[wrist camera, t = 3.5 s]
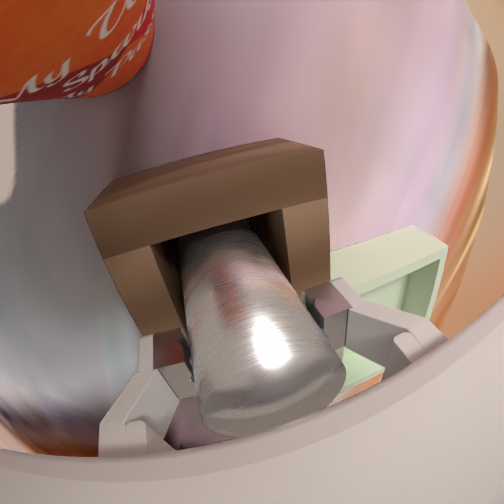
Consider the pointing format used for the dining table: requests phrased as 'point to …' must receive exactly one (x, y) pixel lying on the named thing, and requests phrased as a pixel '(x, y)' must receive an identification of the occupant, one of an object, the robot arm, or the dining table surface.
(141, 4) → the paper cup
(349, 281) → the tray
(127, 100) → the dining table surface
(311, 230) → the socket block
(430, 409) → the robot arm
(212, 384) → the steel pin
